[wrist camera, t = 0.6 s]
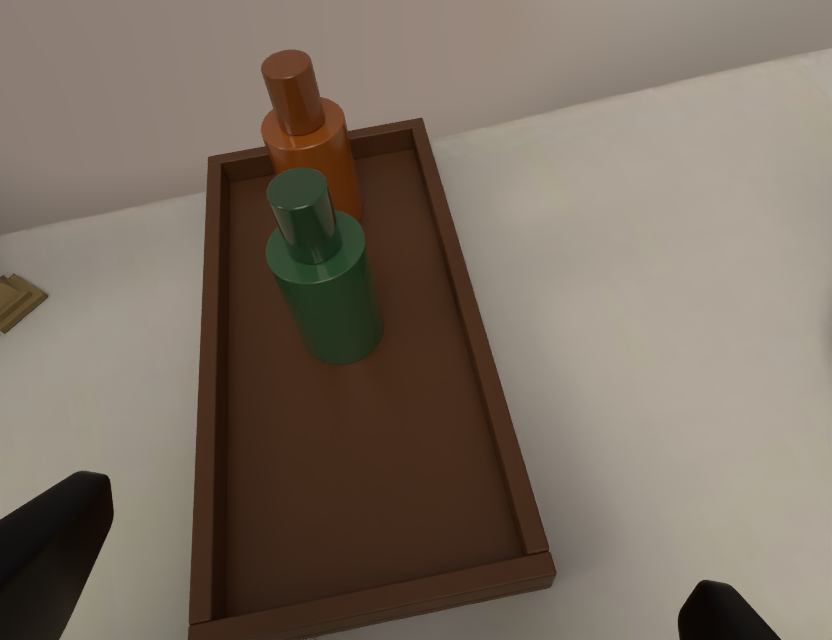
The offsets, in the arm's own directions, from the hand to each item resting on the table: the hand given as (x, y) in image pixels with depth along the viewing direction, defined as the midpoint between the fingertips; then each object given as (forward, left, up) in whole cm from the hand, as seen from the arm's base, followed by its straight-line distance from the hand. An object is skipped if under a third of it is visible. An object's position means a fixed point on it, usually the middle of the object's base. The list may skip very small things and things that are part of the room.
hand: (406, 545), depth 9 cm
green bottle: (+14, +2, -14) cm, 20 cm away
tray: (+14, +2, -15) cm, 21 cm away
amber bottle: (+22, +2, -14) cm, 27 cm away
